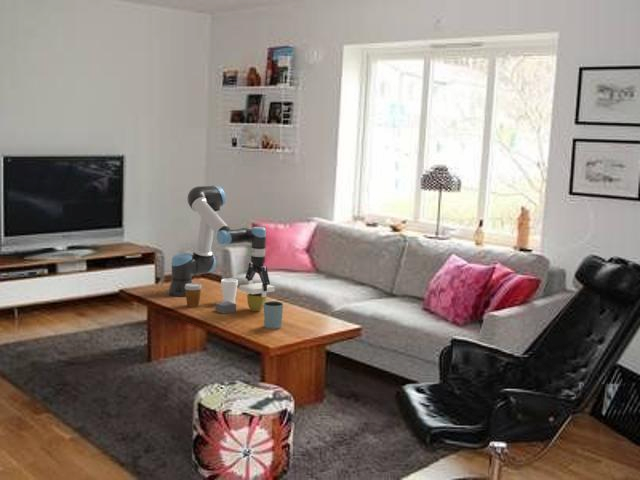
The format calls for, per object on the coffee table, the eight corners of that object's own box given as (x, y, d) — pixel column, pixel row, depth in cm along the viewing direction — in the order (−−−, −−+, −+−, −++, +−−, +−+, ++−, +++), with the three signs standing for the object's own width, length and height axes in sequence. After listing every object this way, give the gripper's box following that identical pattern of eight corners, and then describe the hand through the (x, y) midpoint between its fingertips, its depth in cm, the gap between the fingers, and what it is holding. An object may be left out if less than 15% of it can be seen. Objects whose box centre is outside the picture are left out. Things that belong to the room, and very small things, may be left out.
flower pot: (261, 312, 392) (262, 296, 391) (246, 311, 394) (246, 295, 393) (266, 308, 401) (266, 292, 399) (251, 307, 402) (251, 291, 401)
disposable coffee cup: (182, 304, 402) (182, 283, 400) (199, 303, 406) (199, 282, 404) (186, 308, 394) (186, 287, 392) (203, 307, 397) (204, 286, 395)
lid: (239, 289, 395) (239, 285, 395) (261, 286, 405) (261, 282, 405) (252, 294, 386) (252, 289, 386) (274, 291, 396) (274, 286, 396)
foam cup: (226, 305, 404) (227, 282, 402) (217, 302, 411) (217, 279, 409) (240, 303, 410) (241, 280, 408) (231, 299, 417) (231, 277, 415)
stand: (215, 310, 393) (215, 303, 392) (227, 308, 398) (227, 301, 397) (223, 313, 387) (223, 306, 386) (235, 311, 392) (236, 304, 392)
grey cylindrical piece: (279, 330, 361) (280, 306, 359) (260, 328, 363) (260, 304, 361) (284, 324, 371) (285, 301, 369) (265, 323, 373) (266, 300, 371)
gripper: (239, 252, 399) (238, 290, 403) (265, 260, 381) (264, 300, 385) (250, 251, 404) (249, 289, 407) (277, 258, 386) (275, 298, 389)
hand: (256, 294), depth 396 cm, fingers closed on lid, 12 cm apart
